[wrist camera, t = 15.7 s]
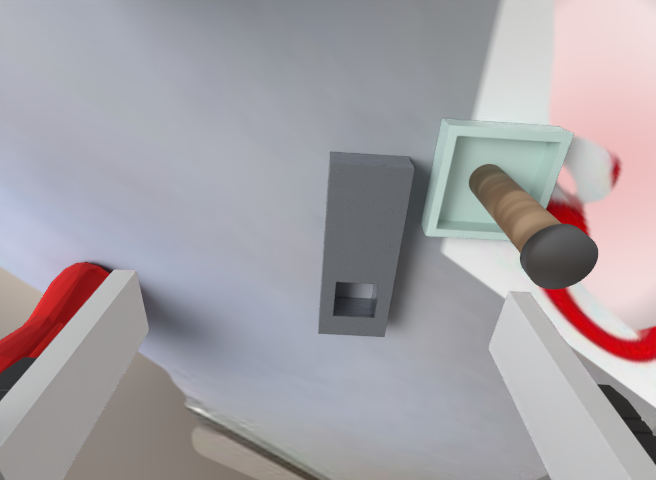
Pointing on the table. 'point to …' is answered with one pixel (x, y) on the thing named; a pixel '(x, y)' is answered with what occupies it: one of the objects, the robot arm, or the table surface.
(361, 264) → the block
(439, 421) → the table surface
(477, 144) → the tray
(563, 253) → the pin
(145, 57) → the table surface
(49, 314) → the water bottle
